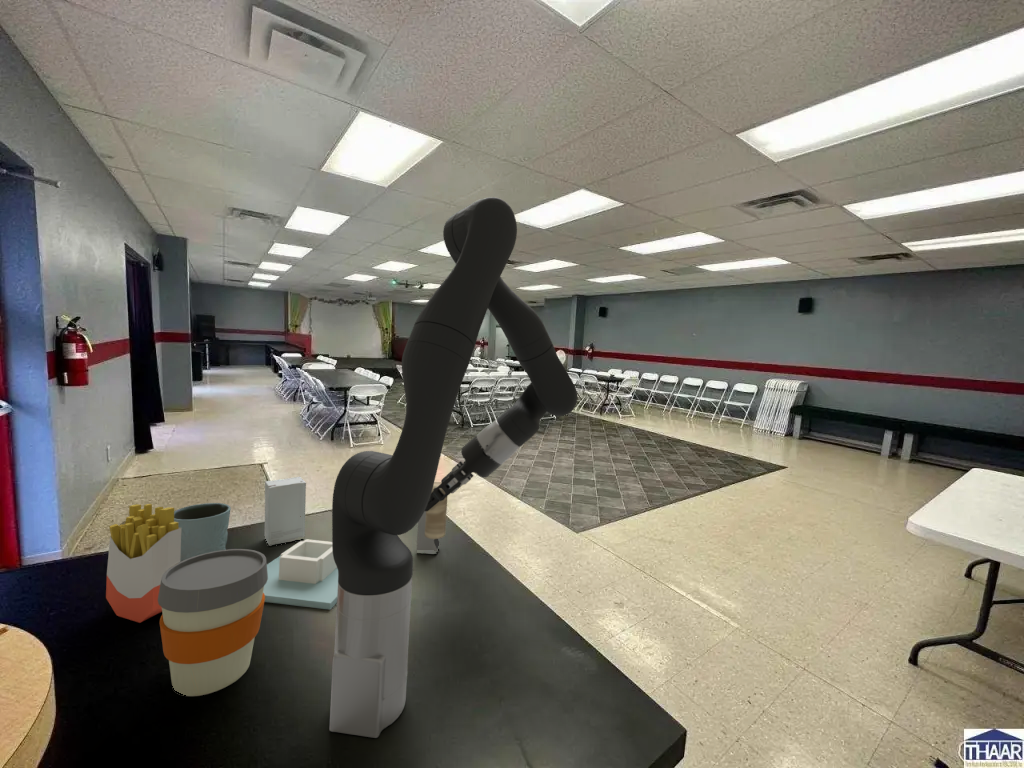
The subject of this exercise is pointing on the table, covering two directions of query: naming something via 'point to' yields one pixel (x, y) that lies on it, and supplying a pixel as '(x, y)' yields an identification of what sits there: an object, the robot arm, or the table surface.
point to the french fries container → (141, 560)
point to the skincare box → (284, 509)
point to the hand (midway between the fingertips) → (427, 503)
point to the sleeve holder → (303, 576)
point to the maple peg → (436, 518)
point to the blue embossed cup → (202, 528)
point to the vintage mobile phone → (423, 541)
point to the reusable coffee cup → (211, 617)
